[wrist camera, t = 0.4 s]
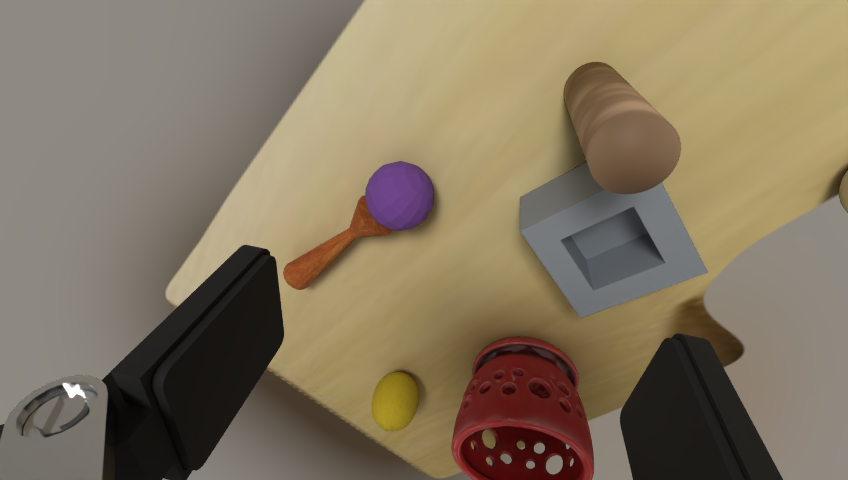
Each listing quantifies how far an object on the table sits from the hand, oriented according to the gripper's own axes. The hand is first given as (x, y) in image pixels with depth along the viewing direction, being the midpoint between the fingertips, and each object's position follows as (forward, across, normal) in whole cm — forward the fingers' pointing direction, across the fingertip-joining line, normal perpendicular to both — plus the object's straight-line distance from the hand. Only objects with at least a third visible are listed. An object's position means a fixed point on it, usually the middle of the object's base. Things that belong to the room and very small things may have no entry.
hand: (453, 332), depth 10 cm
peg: (+27, -7, -1) cm, 28 cm away
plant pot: (+27, -9, +30) cm, 42 cm away
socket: (+27, -11, +9) cm, 30 cm away
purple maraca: (+28, +11, +15) cm, 33 cm away
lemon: (+28, +5, +36) cm, 46 cm away
